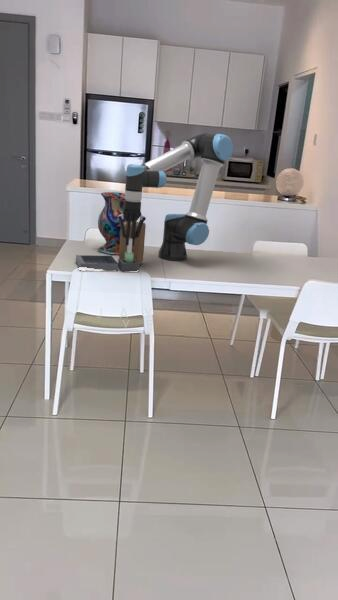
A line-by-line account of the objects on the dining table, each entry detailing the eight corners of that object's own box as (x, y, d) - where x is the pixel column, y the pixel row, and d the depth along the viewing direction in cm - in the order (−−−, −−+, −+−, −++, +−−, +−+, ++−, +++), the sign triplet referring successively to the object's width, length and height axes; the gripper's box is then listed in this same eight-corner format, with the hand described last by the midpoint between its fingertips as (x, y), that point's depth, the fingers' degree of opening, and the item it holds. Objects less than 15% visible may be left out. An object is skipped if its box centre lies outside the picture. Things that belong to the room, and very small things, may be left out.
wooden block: (138, 267, 231) (141, 225, 225) (117, 264, 233) (120, 223, 227) (143, 262, 241) (146, 222, 234) (123, 260, 242) (126, 220, 236)
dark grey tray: (111, 262, 235) (111, 255, 234) (117, 271, 222) (118, 263, 221) (75, 262, 229) (75, 255, 228) (80, 271, 216) (80, 263, 215)
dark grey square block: (134, 267, 231) (135, 259, 229) (138, 272, 223) (139, 263, 222) (117, 267, 228) (118, 259, 227) (121, 272, 221) (122, 263, 219)
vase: (97, 246, 265) (99, 190, 256) (130, 248, 268) (134, 193, 258) (95, 254, 248) (98, 195, 239) (131, 256, 251) (135, 197, 241)
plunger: (131, 262, 227) (132, 251, 226) (133, 264, 224) (134, 254, 222) (123, 262, 226) (124, 251, 224) (125, 264, 222) (126, 253, 221)
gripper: (144, 200, 221) (140, 250, 228) (116, 198, 217) (113, 250, 224) (149, 202, 214) (144, 254, 222) (120, 201, 210) (117, 254, 217)
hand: (129, 252), depth 223 cm, fingers closed
